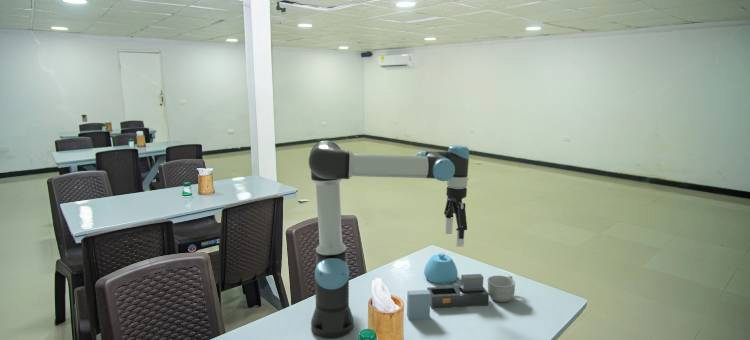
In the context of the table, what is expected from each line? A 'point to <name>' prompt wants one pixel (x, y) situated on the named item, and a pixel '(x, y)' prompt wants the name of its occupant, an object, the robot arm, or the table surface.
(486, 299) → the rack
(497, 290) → the teacup
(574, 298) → the table surface
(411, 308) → the panel
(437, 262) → the sugar bowl
